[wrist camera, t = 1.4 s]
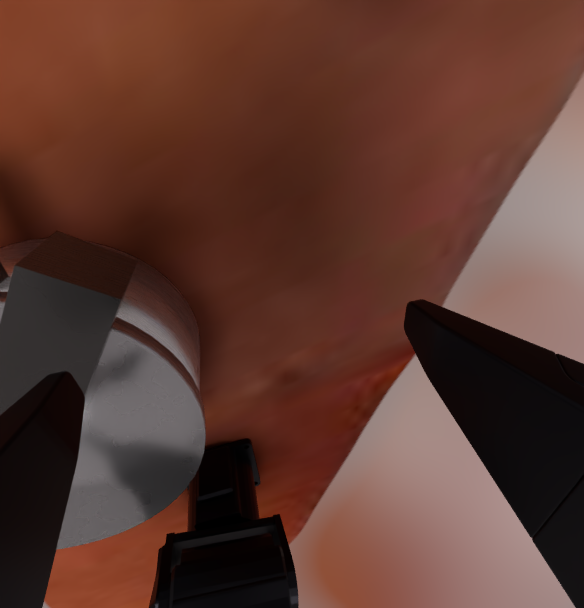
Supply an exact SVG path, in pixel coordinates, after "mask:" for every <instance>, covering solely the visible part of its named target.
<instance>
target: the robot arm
mask: <svg viewBox="0 0 584 608" xmlns="http://www.w3.org/2000/svg"><path fill="white" fill-rule="evenodd" d="M404 330H405V333H406V335H407V337H408V339H409V341H410V343H411V345H412V347H413V349H414V351H415V353H416V355H417V357H418V359H419V361H420V363H421V365H422V367H423V369H424V371H425V373H426V375H427V377H428V378H429V380H430V382H431V383H432V385H433V386H434V388H435V389H436V391H437V393H438V394H439V396H440V397H441V399H442V400H443V402H444V403H445V405H446V407H447V408H448V410H449V411H450V413H451V414H452V416H453V417H454V419H455V421H456V422H457V424H458V425H459V427H460V428H461V430H462V431H463V433H464V435H465V436H466V438H467V439H468V441H469V442H470V444H471V445H472V447H473V448H474V450H475V452H476V453H477V455H478V456H479V458H480V459H481V461H482V462H483V464H484V466H485V467H486V469H487V470H488V472H489V473H490V475H491V476H492V478H493V480H494V481H495V483H496V484H497V486H498V487H499V489H500V490H501V492H502V493H503V495H504V497H505V498H506V500H507V501H508V503H509V504H510V506H511V507H512V509H513V511H514V512H515V513H516V515H517V517H518V518H519V520H520V521H521V523H522V524H523V526H524V528H525V529H526V531H527V532H528V534H529V535H530V537H531V538H532V540H533V542H534V544H535V545H536V547H537V548H538V550H539V551H540V553H541V554H542V556H543V558H544V559H545V561H546V562H547V564H548V565H549V567H550V569H551V570H552V572H553V573H554V575H555V576H556V578H557V579H558V581H559V582H560V584H561V586H562V587H563V589H564V590H565V592H566V593H567V595H568V596H569V598H570V600H571V601H572V603H573V604H574V606H575V607H576V608H584V364H583V363H580V362H578V361H575V360H573V359H570V358H567V357H565V356H562V355H560V354H555V353H554V352H553V351H550V350H547V349H545V348H543V347H540V346H538V345H535V344H533V343H530V342H528V341H525V340H523V339H520V338H518V337H515V336H513V335H510V334H508V333H505V332H503V331H500V330H498V329H495V328H493V327H490V326H488V325H485V324H483V323H481V322H478V321H476V320H473V319H471V318H468V317H466V316H463V315H460V314H458V313H455V312H453V311H450V310H448V309H446V308H443V307H441V306H438V305H436V304H433V303H431V302H428V301H426V300H423V299H420V300H415V301H410V302H409V303H408V304H407V307H406V313H405V320H404ZM84 405H85V396H84V393H83V391H82V389H81V388H80V386H79V385H78V383H77V382H76V380H75V379H74V377H73V376H72V374H71V373H70V372H68V371H62V372H57V373H52V374H49V375H47V376H46V377H45V378H43V379H42V380H41V381H40V382H39V383H38V384H36V385H35V386H34V387H33V388H32V389H30V390H29V391H28V392H27V393H26V394H25V395H23V396H22V397H21V398H20V399H19V400H18V401H16V402H15V403H14V404H13V405H12V406H10V407H9V408H8V409H7V410H6V411H5V412H3V413H2V414H1V415H0V608H42V606H43V602H44V598H45V594H46V590H47V586H48V582H49V577H50V573H51V569H52V565H53V561H54V557H55V553H56V548H57V544H58V540H59V536H60V532H61V528H62V523H63V519H64V515H65V511H66V507H67V503H68V498H69V494H70V490H71V486H72V482H73V478H74V474H75V469H76V465H77V460H78V454H79V447H80V439H81V431H82V422H83V414H84ZM259 484H260V477H259V473H258V469H257V465H256V460H255V456H254V452H253V448H252V443H251V441H250V440H243V441H239V442H235V443H231V444H227V445H223V446H219V447H216V448H212V449H208V450H204V454H203V457H202V461H201V464H200V466H199V468H198V470H197V472H196V474H195V476H194V478H193V479H192V481H191V482H190V483H189V485H188V486H187V488H188V490H189V503H188V532H183V533H177V534H175V533H169V534H167V537H166V544H165V545H164V546H163V547H162V548H160V549H159V553H158V563H157V571H156V578H155V582H154V587H153V591H152V595H151V600H150V604H149V608H298V589H297V580H296V574H295V568H294V563H293V560H292V555H291V552H290V549H289V545H288V542H287V538H286V535H285V531H284V528H283V524H282V521H281V517H280V514H277V515H273V517H268V518H262V519H260V518H259V511H258V504H257V497H256V490H255V486H258V485H259Z"/></svg>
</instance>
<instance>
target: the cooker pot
mask: <svg viewBox="0 0 584 608" xmlns="http://www.w3.org/2000/svg"><path fill="white" fill-rule="evenodd" d="M45 240H46V239H36V240H28V241H23V242H18V243H14V244H10V245H7V246H4V247H1V248H0V292H8V289H9V285H10V281H11V277H12V273H13V269H14V265H15V264H17V263H18V262H19V261H20V260H22V259H23V258H24V257H25V256H26V255H28V254H29V253H30V252H31V251H33V250H34V249H35V248H36V247H38V246H39V245H40V244H41V243H43V242H44V241H45ZM86 242H88V243H91V244H94V245H96V246H99V247H102V248H104V249H107V250H110V251H113V252H115V253H118V254H121V255H123V256H126V257H129V258H131V259H134V260H137V261H138V262H137V265H136V268H135V270H134V273H133V275H132V278H131V281H130V283H129V286H128V288H127V291H126V294H125V296H124V299H123V301H122V304H121V306H120V309H119V312H118V314H117V317H118V318H120V319H122V320H124V321H126V322H128V323H130V324H133V325H134V326H136V327H138V328H139V329H141V330H142V331H144V332H146V333H147V334H149V335H151V336H152V337H154V338H155V339H156V340H157V341H159V342H160V343H161V344H162V345H164V346H165V347H166V348H167V349H169V350H170V351H171V352H172V353H173V354H174V355H175V356H176V357H177V358H178V359H179V361H180V362H181V363H182V364H183V365H184V366H185V368H186V369H187V370H188V372H189V373H190V375H191V376H192V378H193V379H194V381H195V383H196V385H197V387H198V389H199V391H200V335H199V330H198V325H197V322H196V319H195V316H194V314H193V311H192V310H191V308H190V306H189V304H188V302H187V301H186V299H185V298H184V297H183V295H182V294H181V293H180V291H179V290H178V289H177V288H176V287H175V286H174V285H173V284H172V283H171V282H170V281H169V280H168V279H167V278H166V277H165V276H163V275H162V274H161V273H160V272H158V271H157V270H156V269H155V268H153V267H151V266H150V265H148V264H147V263H145V262H143V261H142V260H140V259H138V258H136V257H134V256H132V255H130V254H128V253H125V252H123V251H120V250H117V249H115V248H112V247H109V246H106V245H102V244H97V243H93V242H89V241H86Z"/></svg>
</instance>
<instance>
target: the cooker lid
mask: <svg viewBox="0 0 584 608" xmlns="http://www.w3.org/2000/svg"><path fill="white" fill-rule="evenodd" d="M137 262H138V261H137V260H134V259H131V258H129V257H126V256H123V255H121V254H118V253H115V252H113V251H110V250H107V249H104V248H102V247H99V246H96V245H94V244H91V243H88V242H86V241H83V240H80V239H78V238H75V237H72V236H70V235H67V234H64V233H62V232H59V231H56V232H55V233H54V234H52V235H51V236H50V237H49V238H47V239H46V240H45V241H44V242H43V243H41V244H40V245H39V246H38V247H36V248H35V249H34V250H33V251H31V252H30V253H29V254H28V255H26V256H25V257H24V258H23V259H22V260H20V261H19V262H18V263H17V264H15V265H14V269H13V273H12V277H11V281H10V285H9V289H8V292H0V415H1V414H2V413H3V412H5V411H6V410H7V409H8V408H9V407H10V406H12V405H13V404H14V403H15V402H16V401H18V400H19V399H20V398H21V397H22V396H23V395H25V394H26V393H27V392H28V391H29V390H30V389H32V388H33V387H34V386H35V385H36V384H38V383H39V382H40V381H41V380H42V379H43V378H45V377H46V376H47V375H49V374H52V373H57V372H62V371H68V372H70V373H71V374H72V376H73V377H74V379H75V380H76V382H77V383H78V385H79V386H80V388H81V389H82V391H83V393H84V396H85V405H84V414H83V422H82V431H81V439H80V447H79V454H78V460H77V465H76V469H75V474H74V478H73V482H72V486H71V490H70V494H69V498H68V503H67V507H66V511H65V515H64V519H63V523H62V528H61V532H60V536H59V540H58V544H57V548H56V549H63V548H68V547H73V546H78V545H83V544H87V543H90V542H94V541H98V540H101V539H104V538H107V537H110V536H113V535H116V534H119V533H121V532H123V531H126V530H128V529H130V528H132V527H135V526H137V525H139V524H140V523H142V522H144V521H146V520H148V519H150V518H151V517H153V516H154V515H156V514H157V513H159V512H160V511H162V510H163V509H165V508H166V507H167V506H168V505H169V504H171V503H172V502H173V501H174V500H175V499H177V497H178V496H179V495H180V494H181V493H182V492H183V491H184V490H185V489H186V488H187V486H188V485H189V483H190V482H191V481H192V479H193V478H194V476H195V474H196V472H197V470H198V468H199V466H200V464H201V461H202V457H203V454H204V448H205V412H204V405H203V401H202V398H201V394H200V391H199V389H198V387H197V385H196V383H195V381H194V379H193V378H192V376H191V375H190V373H189V372H188V370H187V369H186V368H185V366H184V365H183V364H182V363H181V362H180V361H179V359H178V358H177V357H176V356H175V355H174V354H173V353H172V352H171V351H170V350H169V349H167V348H166V347H165V346H164V345H162V344H161V343H160V342H159V341H157V340H156V339H155V338H154V337H152V336H151V335H149V334H147V333H146V332H144V331H142V330H141V329H139V328H138V327H136V326H134V325H133V324H130V323H128V322H126V321H124V320H122V319H120V318H118V317H117V314H118V312H119V309H120V306H121V304H122V301H123V299H124V296H125V294H126V291H127V288H128V286H129V283H130V281H131V278H132V275H133V273H134V270H135V268H136V265H137Z"/></svg>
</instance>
